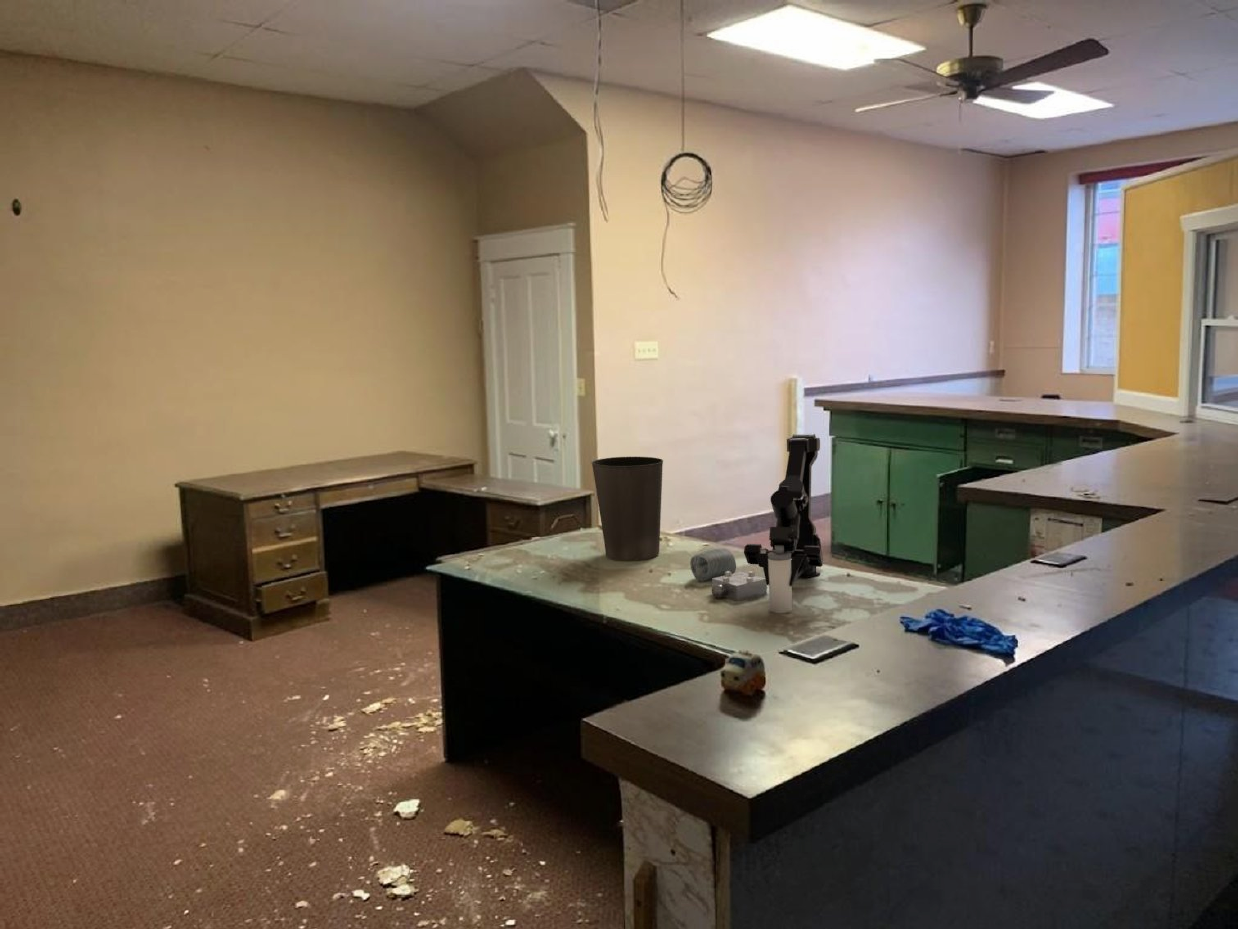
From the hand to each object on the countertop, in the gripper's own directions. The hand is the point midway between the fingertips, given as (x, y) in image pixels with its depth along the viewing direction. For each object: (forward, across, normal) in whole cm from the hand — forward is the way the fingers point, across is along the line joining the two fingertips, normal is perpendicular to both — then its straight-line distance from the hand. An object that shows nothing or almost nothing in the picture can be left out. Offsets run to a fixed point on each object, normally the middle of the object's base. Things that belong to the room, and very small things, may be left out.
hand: (779, 585), depth 223 cm
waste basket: (-31, -57, +40) cm, 77 cm away
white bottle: (+4, 0, +6) cm, 7 cm away
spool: (-15, -24, +24) cm, 37 cm away
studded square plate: (-4, -14, +13) cm, 20 cm away
